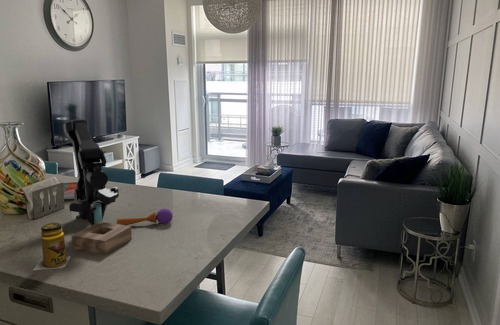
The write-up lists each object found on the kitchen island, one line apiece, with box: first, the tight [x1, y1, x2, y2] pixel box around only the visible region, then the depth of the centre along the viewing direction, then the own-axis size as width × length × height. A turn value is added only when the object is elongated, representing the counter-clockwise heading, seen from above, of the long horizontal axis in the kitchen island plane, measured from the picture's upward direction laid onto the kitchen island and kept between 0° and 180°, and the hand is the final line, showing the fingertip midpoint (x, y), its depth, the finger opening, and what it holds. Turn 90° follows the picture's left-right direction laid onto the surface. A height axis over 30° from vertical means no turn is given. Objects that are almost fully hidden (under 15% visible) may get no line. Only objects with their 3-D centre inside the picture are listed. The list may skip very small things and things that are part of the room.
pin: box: [90, 203, 104, 226], centre depth 138 cm, size 4×4×9 cm
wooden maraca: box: [116, 207, 174, 226], centre depth 142 cm, size 6×6×20 cm
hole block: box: [71, 221, 133, 255], centre depth 125 cm, size 13×13×4 cm
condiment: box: [33, 222, 71, 271], centre depth 110 cm, size 7×8×12 cm
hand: (96, 222), depth 138 cm, fingers closed on pin, 4 cm apart
